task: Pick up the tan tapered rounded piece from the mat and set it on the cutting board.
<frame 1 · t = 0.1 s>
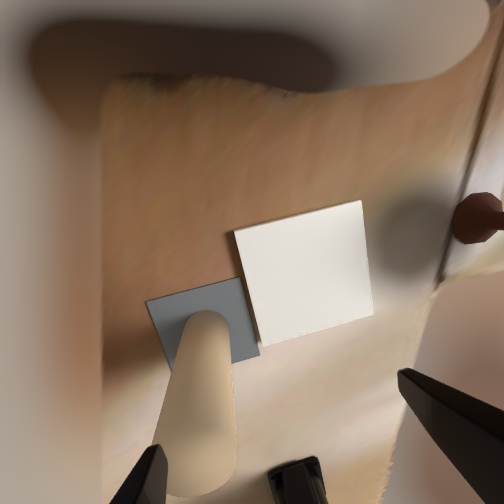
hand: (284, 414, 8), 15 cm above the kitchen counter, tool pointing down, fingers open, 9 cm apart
mat: (206, 329, 23), on the kitchen counter
tan tapered rounded piece: (206, 330, 23), resting on mat
cutting board: (306, 273, 23), on the kitchen counter
ice cream bowl: (473, 218, 25), on the kitchen counter
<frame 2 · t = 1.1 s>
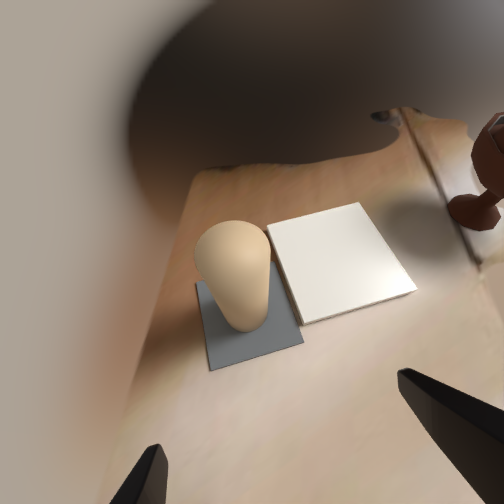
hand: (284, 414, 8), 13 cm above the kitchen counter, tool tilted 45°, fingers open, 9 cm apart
mat: (246, 310, 24), on the kitchen counter
tan tapered rounded piece: (246, 309, 24), resting on mat
cutting board: (332, 258, 27), on the kitchen counter
ice cream bowl: (471, 213, 29), on the kitchen counter
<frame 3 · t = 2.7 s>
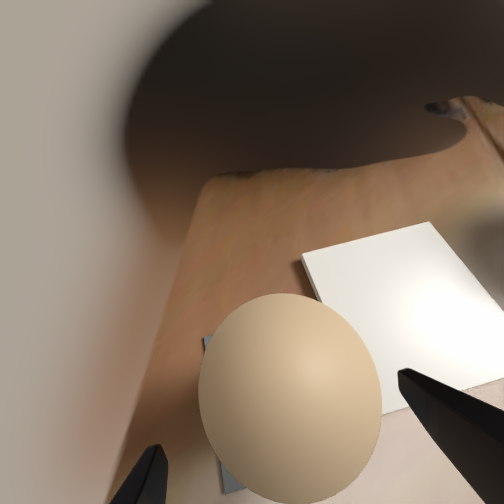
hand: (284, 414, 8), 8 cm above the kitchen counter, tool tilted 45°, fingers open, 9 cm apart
mat: (276, 385, 16), on the kitchen counter
tan tapered rounded piece: (276, 385, 16), resting on mat
cutting board: (399, 304, 18), on the kitchen counter
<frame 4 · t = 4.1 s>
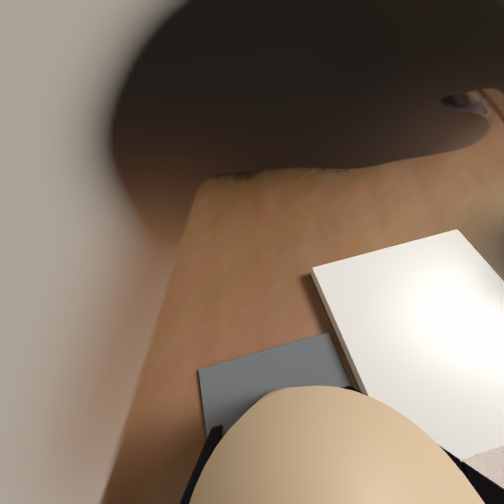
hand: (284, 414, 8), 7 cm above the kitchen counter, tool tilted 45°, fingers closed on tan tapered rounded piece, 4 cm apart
mat: (286, 432, 13), on the kitchen counter
tan tapered rounded piece: (286, 432, 13), resting on mat, touching gripper
cutting board: (428, 328, 16), on the kitchen counter
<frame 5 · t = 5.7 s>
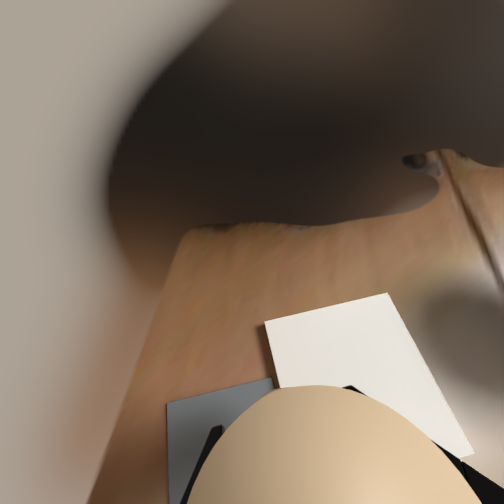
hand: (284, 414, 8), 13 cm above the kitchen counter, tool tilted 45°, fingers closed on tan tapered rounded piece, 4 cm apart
mat: (228, 457, 18), on the kitchen counter
tan tapered rounded piece: (286, 432, 13), point 6 cm above the kitchen counter, touching gripper
cutting board: (350, 378, 20), on the kitchen counter
when the fingers open (8 cm above the kitchen counter, at t = 7.4 s): tan tapered rounded piece drops 1 cm, resting on cutting board.
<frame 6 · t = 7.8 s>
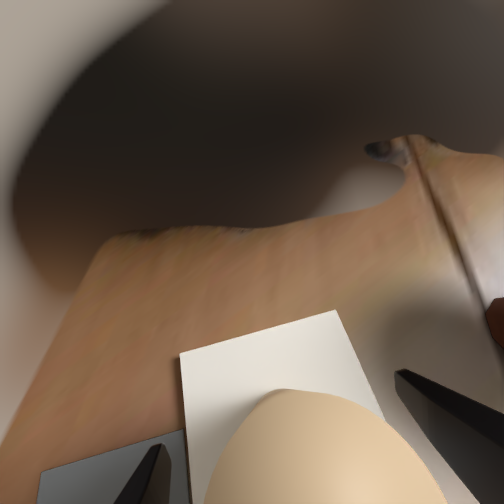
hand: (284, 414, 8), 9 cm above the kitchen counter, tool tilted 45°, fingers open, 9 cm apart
tan tapered rounded piece: (285, 430, 14), point 1 cm above the kitchen counter, touching cutting board
cutting board: (284, 426, 15), on the kitchen counter
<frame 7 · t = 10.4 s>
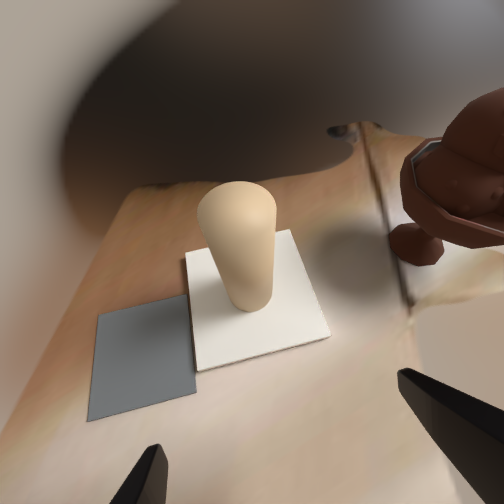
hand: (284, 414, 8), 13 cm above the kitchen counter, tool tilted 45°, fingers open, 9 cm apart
mat: (143, 350, 22), on the kitchen counter
tan tapered rounded piece: (250, 290, 23), point 1 cm above the kitchen counter, touching cutting board
cutting board: (250, 293, 24), on the kitchen counter
ice cream bowl: (414, 245, 26), on the kitchen counter
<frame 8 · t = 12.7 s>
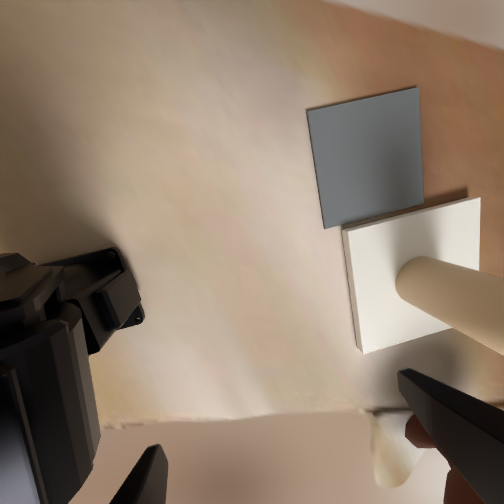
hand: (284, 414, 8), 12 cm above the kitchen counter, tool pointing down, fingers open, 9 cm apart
mat: (368, 161, 19), on the kitchen counter
tan tapered rounded piece: (418, 280, 21), point 1 cm above the kitchen counter, touching cutting board
cutting board: (410, 276, 22), on the kitchen counter
ice cream bowl: (425, 424, 27), on the kitchen counter
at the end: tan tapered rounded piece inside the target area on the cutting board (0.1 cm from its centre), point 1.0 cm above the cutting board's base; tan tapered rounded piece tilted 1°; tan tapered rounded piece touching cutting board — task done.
